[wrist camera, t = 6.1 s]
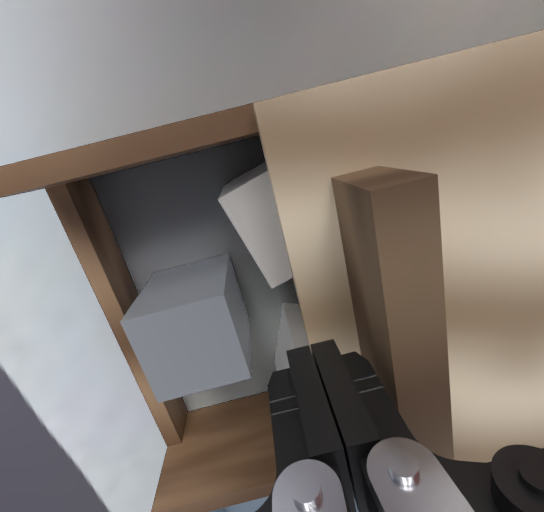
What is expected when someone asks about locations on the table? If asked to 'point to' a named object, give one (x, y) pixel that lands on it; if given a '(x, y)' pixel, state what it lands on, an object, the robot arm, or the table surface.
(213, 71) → the table surface
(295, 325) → the light grey cube
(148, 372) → the grey block
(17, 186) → the brown cabinet frame
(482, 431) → the lid
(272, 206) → the grey block
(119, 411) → the table surface
